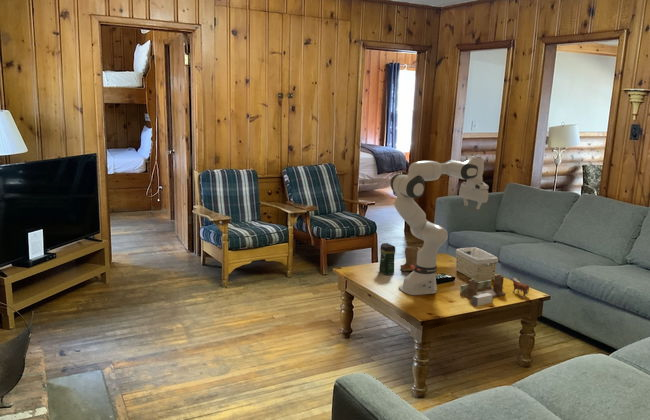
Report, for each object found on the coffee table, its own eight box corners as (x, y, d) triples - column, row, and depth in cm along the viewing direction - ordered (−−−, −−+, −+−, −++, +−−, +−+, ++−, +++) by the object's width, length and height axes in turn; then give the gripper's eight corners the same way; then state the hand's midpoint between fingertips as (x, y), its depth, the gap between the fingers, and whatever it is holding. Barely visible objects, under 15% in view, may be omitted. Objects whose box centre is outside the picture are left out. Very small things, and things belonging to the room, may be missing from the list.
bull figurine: (513, 289, 318) (515, 276, 316) (529, 297, 305) (531, 284, 304) (507, 290, 316) (509, 276, 314) (523, 298, 304) (525, 284, 302)
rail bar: (476, 306, 290) (477, 298, 290) (471, 303, 293) (472, 296, 292) (492, 302, 296) (493, 294, 295) (487, 300, 299) (488, 292, 298)
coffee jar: (396, 274, 337) (397, 245, 334) (385, 275, 334) (386, 246, 330) (387, 269, 346) (389, 241, 342) (377, 271, 343) (378, 242, 339)
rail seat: (475, 301, 297) (477, 282, 295) (460, 294, 307) (461, 275, 305) (505, 294, 308) (507, 276, 306) (489, 288, 318) (491, 270, 316)
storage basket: (497, 280, 333) (499, 257, 330) (475, 282, 327) (477, 259, 324) (474, 268, 355) (476, 246, 352) (452, 270, 349) (454, 248, 346)
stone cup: (416, 265, 356) (418, 243, 353) (425, 271, 345) (427, 248, 342) (395, 267, 351) (397, 245, 348) (403, 273, 340) (405, 250, 337)
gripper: (457, 181, 322) (455, 204, 325) (483, 187, 305) (480, 211, 308) (465, 181, 325) (463, 203, 328) (491, 186, 308) (488, 210, 311)
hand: (471, 207), depth 318 cm, fingers open, 8 cm apart
